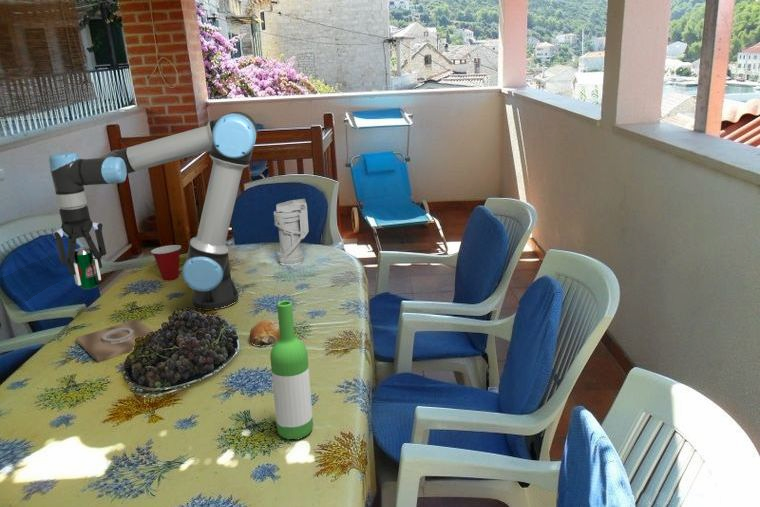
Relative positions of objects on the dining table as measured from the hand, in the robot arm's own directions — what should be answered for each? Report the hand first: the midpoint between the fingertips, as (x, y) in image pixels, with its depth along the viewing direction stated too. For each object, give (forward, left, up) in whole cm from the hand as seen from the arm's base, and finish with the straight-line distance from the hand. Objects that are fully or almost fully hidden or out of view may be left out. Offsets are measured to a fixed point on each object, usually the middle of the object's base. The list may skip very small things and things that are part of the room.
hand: (88, 281), depth 181 cm
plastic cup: (-36, -26, -15) cm, 47 cm away
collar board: (-1, +16, -15) cm, 22 cm away
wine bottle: (-11, +90, -15) cm, 92 cm away
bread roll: (-32, +47, -15) cm, 59 cm away
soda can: (0, 0, -2) cm, 2 cm away
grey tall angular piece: (-79, -6, -15) cm, 80 cm away
